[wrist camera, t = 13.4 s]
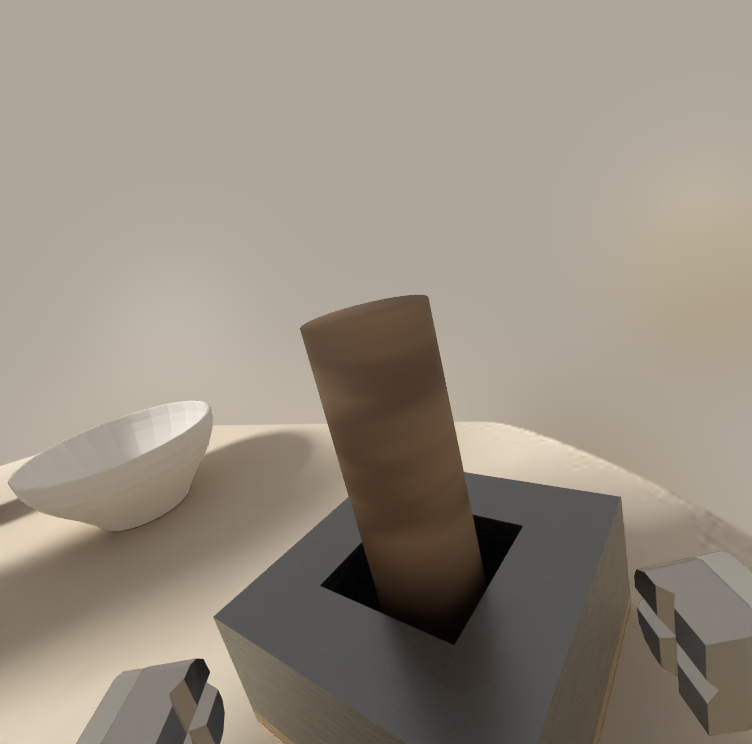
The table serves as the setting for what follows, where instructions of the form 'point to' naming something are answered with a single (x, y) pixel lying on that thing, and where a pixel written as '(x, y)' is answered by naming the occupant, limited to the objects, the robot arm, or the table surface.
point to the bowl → (120, 467)
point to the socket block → (432, 655)
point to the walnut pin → (400, 459)
